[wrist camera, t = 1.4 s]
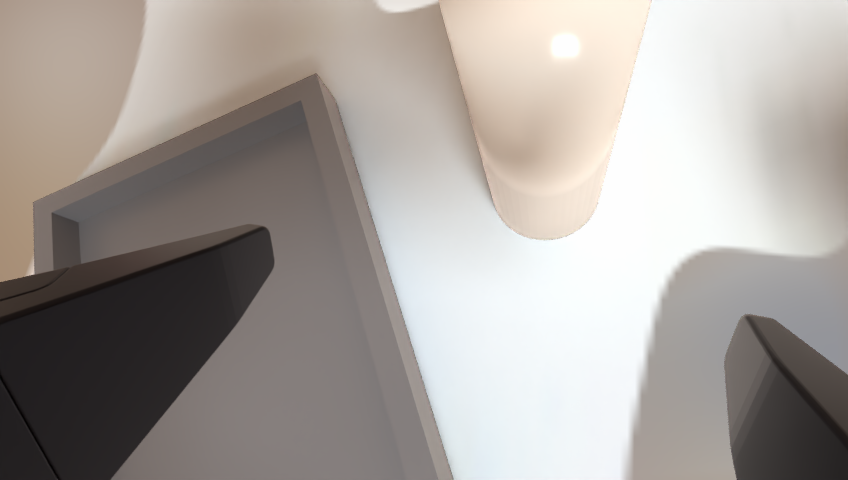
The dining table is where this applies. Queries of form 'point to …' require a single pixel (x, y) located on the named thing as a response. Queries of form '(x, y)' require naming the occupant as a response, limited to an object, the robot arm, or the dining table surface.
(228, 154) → the tray
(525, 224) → the canister
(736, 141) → the dining table surface
